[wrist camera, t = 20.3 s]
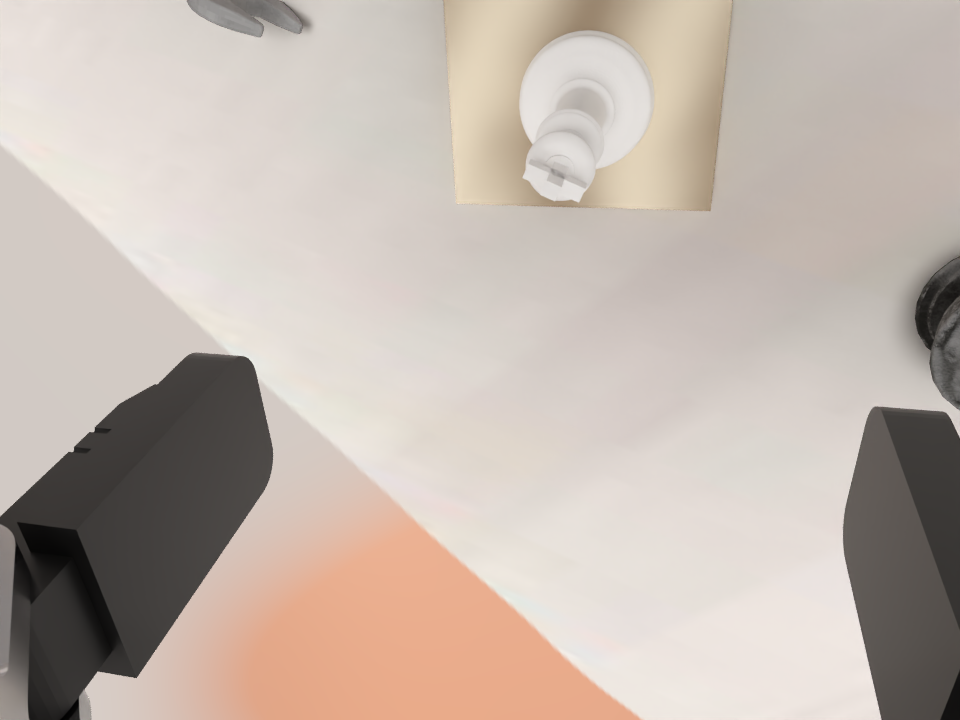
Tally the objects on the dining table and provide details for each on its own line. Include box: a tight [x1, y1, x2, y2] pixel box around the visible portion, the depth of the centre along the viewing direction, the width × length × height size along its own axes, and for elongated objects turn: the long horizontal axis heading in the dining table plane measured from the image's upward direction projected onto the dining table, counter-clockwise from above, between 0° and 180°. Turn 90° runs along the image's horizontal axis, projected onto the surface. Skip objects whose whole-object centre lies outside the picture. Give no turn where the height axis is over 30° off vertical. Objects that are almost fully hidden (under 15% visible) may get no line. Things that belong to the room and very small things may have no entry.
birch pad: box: [444, 0, 733, 211], centre depth 30 cm, size 10×8×1 cm
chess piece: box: [519, 30, 654, 203], centre depth 25 cm, size 5×5×10 cm
